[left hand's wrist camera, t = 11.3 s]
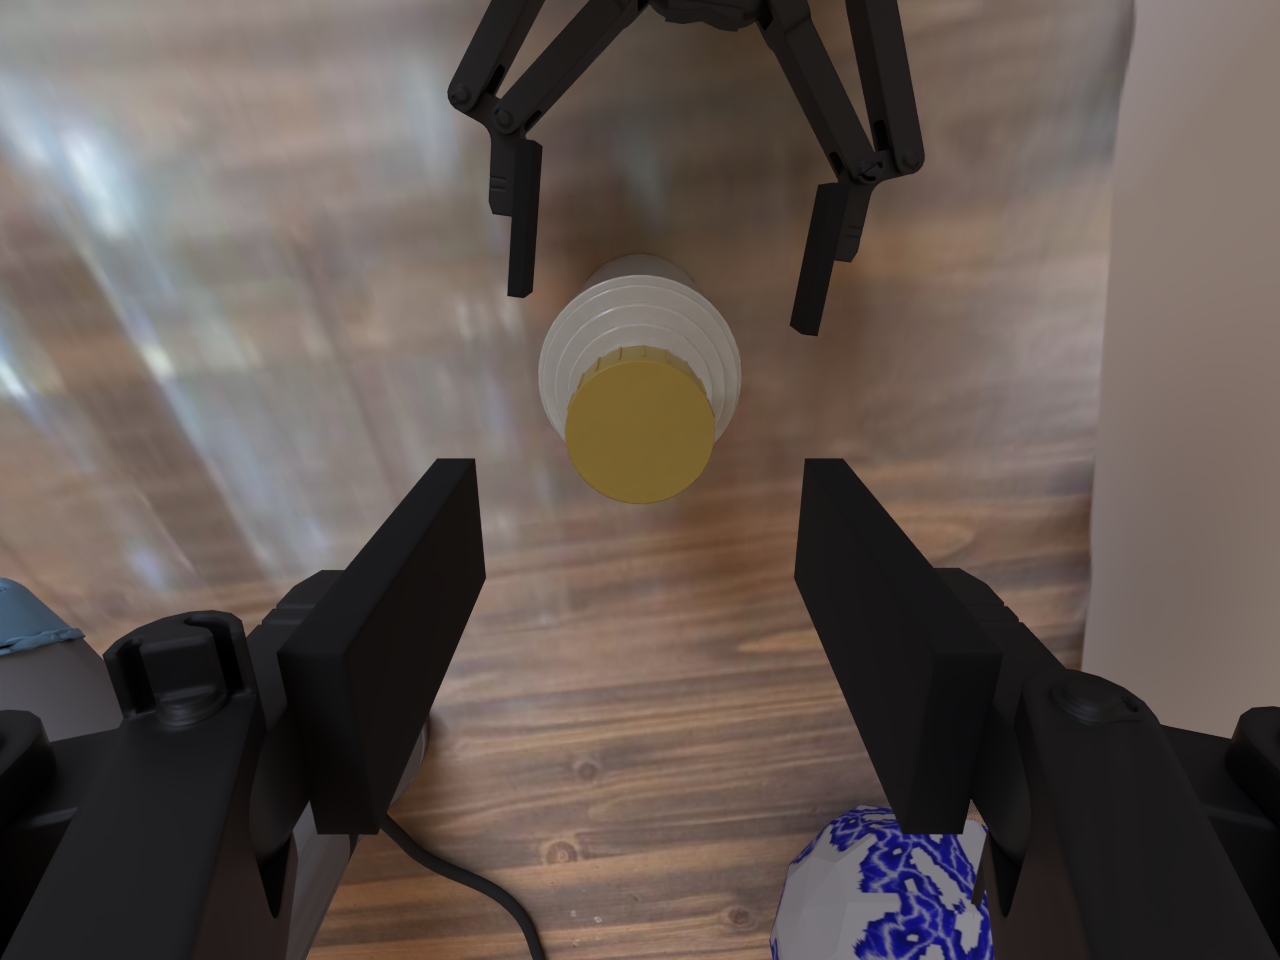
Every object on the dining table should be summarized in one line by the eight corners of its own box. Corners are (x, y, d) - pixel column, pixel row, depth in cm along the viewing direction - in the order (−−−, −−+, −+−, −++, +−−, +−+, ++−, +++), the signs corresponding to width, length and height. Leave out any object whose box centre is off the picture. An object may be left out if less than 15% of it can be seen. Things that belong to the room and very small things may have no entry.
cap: (734, 382, 22) (745, 401, 19) (669, 498, 23) (672, 529, 21) (607, 318, 21) (604, 331, 19) (549, 442, 22) (539, 468, 20)
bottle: (732, 293, 38) (823, 372, 19) (669, 412, 41) (694, 587, 22) (608, 228, 37) (574, 242, 18) (550, 355, 40) (467, 486, 21)
